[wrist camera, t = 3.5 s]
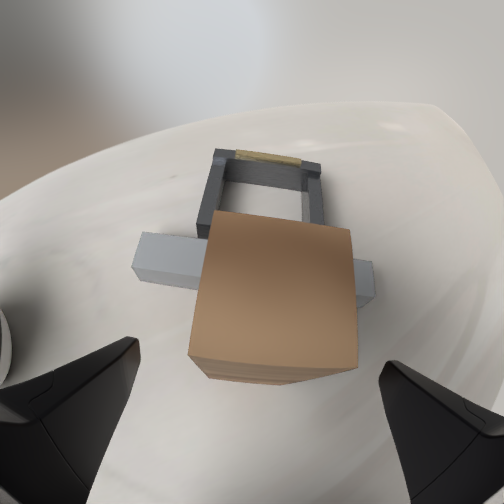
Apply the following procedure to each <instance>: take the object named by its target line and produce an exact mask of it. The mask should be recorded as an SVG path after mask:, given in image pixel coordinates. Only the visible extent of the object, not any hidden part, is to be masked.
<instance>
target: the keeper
mask: <svg viewBox="0 0 504 504" xmlns="http://www.w3.org/2000/svg"><path fill="white" fill-rule="evenodd" d="M320 174H321V165H320V164H318V163H313V162H308V161H303V160H301V159H298V158H293V157H287V156H280V155H274V154H267V153H260V152H253V151H245V150H237V149H236V151H235V150H225V149H215V151H214V155H213V162H212V166H211V169H210V173H209V176H208V180H207V184H206V187H205V191H204V195H203V198H202V202H201V206H200V210H199V214H198V218H197V222H196V227H197V235H198V239H206V240H208V237H209V232H210V228H211V223H212V218H213V213H214V210H218V211H219V207H220V202H221V197H222V193H223V188H224V183H225V181H233V182H241V183H249V184H257V185H264V186H271V187H278V188H284V189H290V190H297V191H301V195H302V222H306V223H312V224H319V225H324V216H323V204H322V192H321V182H320Z"/></svg>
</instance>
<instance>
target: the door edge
mask: <svg viewBox="0 0 504 504" xmlns="http://www.w3.org/2000/svg"><path fill="white" fill-rule="evenodd" d="M207 242H208V240H206V239H198V238H190V237H182V236H174V235H166V234H158V233H150V232H142V235H141V238H140V241H139V244H138V247H137V250H136V253H135V256H134V260H133V263H132V266H131V267H132V269H133V270H134V272H135V273H136V275H137V277H138V278H139V280H140V281H145V282H150V283H157V284H163V285H169V286H175V287H182V288H189V289H196V290H198V289H199V283H200V278H201V273H202V267H203V262H204V257H205V252H206V247H207ZM353 264H354V275H355V289H356V305H357V307H362V306H364V305H365V304H366V303H368V302H369V301H370V300H372V299H373V298H374V297H376V295H375V285H374V276H373V267H372V261H365V260H357V259H353Z"/></svg>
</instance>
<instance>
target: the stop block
mask: <svg viewBox="0 0 504 504" xmlns="http://www.w3.org/2000/svg"><path fill="white" fill-rule="evenodd" d="M188 356H189V357H190V358H191V359H192V360H193V362H194V363H195V364H196V365H197V366H198V367H199V368H200V369H201V370H202V371H203V372H204V373H205V374H206V375H207V377H208V378H212V379H219V380H227V381H236V382H245V383H256V384H270V385H284V384H290V383H295V382H300V381H305V380H310V379H315V378H319V377H324V376H328V375H332V374H336V373H340V372H344V371H348V370H352V369H356V368H358V330H357V305H356V289H355V275H354V264H353V254H352V244H351V236H350V230H349V229H343V228H337V227H331V226H325V225H319V224H312V223H306V222H299V221H292V220H286V219H279V218H272V217H264V216H257V215H249V214H242V213H234V212H226V211H218V210H214V213H213V218H212V223H211V228H210V232H209V237H208V242H207V247H206V252H205V257H204V262H203V267H202V273H201V278H200V283H199V289H198V295H197V300H196V306H195V312H194V318H193V324H192V330H191V336H190V343H189V349H188Z"/></svg>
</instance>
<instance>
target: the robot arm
mask: <svg viewBox="0 0 504 504" xmlns="http://www.w3.org/2000/svg"><path fill="white" fill-rule="evenodd" d="M140 360H141V356H140V346H139V340H138V339H137V338H133V337H129V336H127V337H124V338H122V339H120V340H118V341H116V342H114V343H112V344H110V345H107V346H105V347H103V348H101V349H99V350H97V351H94V352H92V353H90V354H88V355H86V356H84V357H81V358H79V359H77V360H75V361H73V362H70V363H68V364H66V365H64V366H61V367H59V368H57V369H55V370H54V371H50V372H48V373H46V374H43V375H41V376H38V377H36V378H33V379H31V380H28V381H25V382H22V383H19V384H16V385H12V386H9V387H6V388H2V389H0V504H86V502H87V499H88V496H89V493H90V492H89V491H90V490H91V488H92V485H93V482H94V480H95V477H96V475H97V472H98V470H99V467H100V465H101V462H102V460H103V457H104V455H105V452H106V450H107V447H108V445H109V443H110V440H111V438H112V435H113V433H114V431H115V428H116V426H117V424H118V422H119V419H120V417H121V415H122V412H123V410H124V408H125V406H126V404H127V401H128V399H129V396H130V393H131V390H132V387H133V384H134V380H135V377H136V374H137V371H138V368H139V365H140ZM379 387H380V391H381V395H382V400H383V405H384V409H385V413H386V417H387V420H388V423H389V426H390V429H391V432H392V436H393V439H394V442H395V445H396V449H397V452H398V455H399V459H400V462H401V466H402V469H403V473H404V477H405V481H406V485H407V488H408V492H409V497H410V500H411V504H504V417H503V416H501V415H499V414H496V413H494V412H492V411H489V410H487V409H485V408H483V407H481V406H479V405H477V404H475V403H473V402H471V401H469V400H467V399H465V398H462V397H461V396H460V395H458V394H456V393H454V392H452V391H451V390H449V389H447V388H445V387H443V386H442V385H440V384H438V383H436V382H434V381H433V380H431V379H429V378H427V377H425V376H424V375H422V374H420V373H418V372H417V371H415V370H413V369H411V368H410V367H408V366H406V365H404V364H403V363H401V362H399V361H397V360H391V361H387V362H386V363H385V366H384V368H383V370H382V372H381V374H380V376H379Z"/></svg>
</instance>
